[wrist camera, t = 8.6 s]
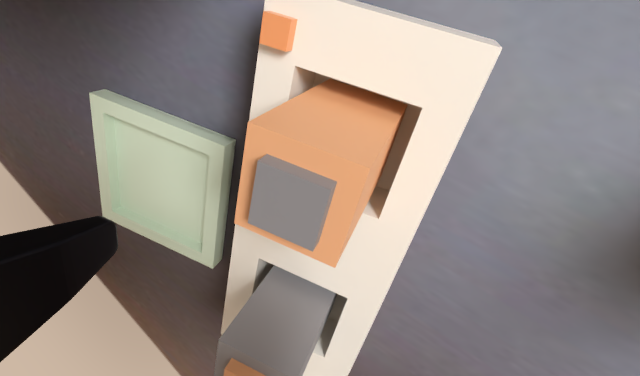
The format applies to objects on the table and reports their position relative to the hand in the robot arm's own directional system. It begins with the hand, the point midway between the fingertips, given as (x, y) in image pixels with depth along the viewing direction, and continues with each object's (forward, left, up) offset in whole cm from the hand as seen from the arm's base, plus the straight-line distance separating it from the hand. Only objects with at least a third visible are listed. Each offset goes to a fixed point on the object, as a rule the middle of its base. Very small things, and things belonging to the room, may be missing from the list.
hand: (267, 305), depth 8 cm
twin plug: (-10, +1, -12) cm, 16 cm away
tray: (-8, +13, -12) cm, 20 cm away
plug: (+1, +1, -12) cm, 12 cm away
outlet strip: (-5, +1, -12) cm, 13 cm away
